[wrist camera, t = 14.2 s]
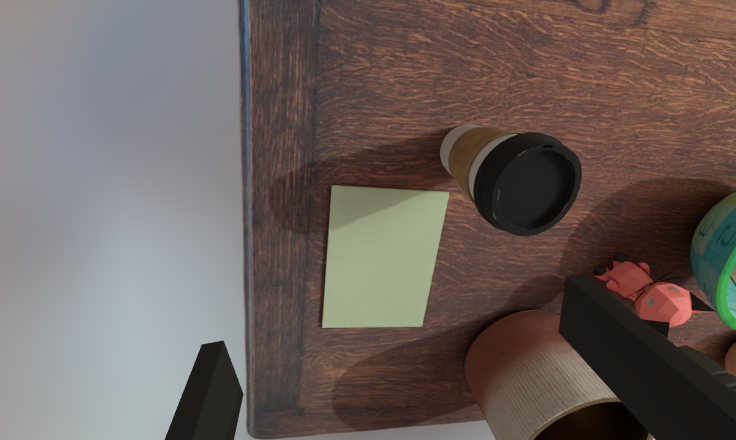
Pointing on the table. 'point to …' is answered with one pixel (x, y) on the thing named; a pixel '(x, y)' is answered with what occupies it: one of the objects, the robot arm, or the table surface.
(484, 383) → the planter
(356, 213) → the sage mat
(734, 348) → the pumpkin
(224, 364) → the robot arm
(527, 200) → the coffee cup
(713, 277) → the bowl
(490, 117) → the table surface
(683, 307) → the cat figurine
